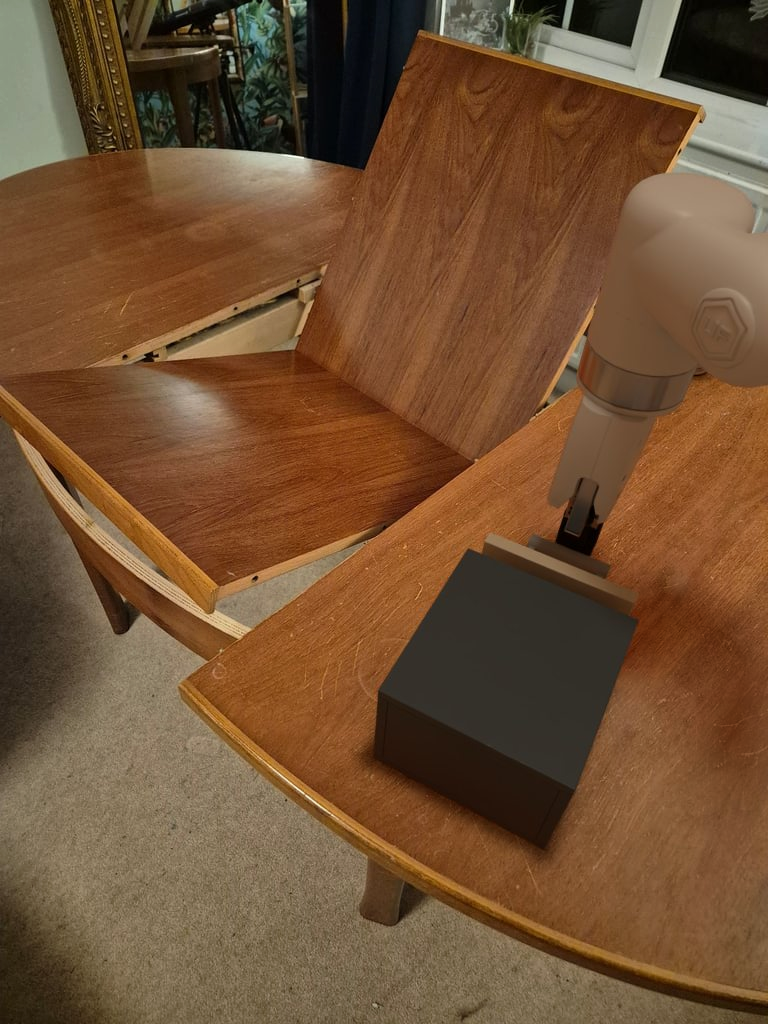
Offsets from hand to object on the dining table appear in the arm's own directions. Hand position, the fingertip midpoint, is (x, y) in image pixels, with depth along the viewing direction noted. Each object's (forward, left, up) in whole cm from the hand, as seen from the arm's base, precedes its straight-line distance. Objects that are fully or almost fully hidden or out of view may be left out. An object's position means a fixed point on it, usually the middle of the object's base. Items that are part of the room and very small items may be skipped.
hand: (575, 544), depth 64 cm
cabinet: (0, +16, -5) cm, 17 cm away
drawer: (0, +10, -4) cm, 11 cm away
